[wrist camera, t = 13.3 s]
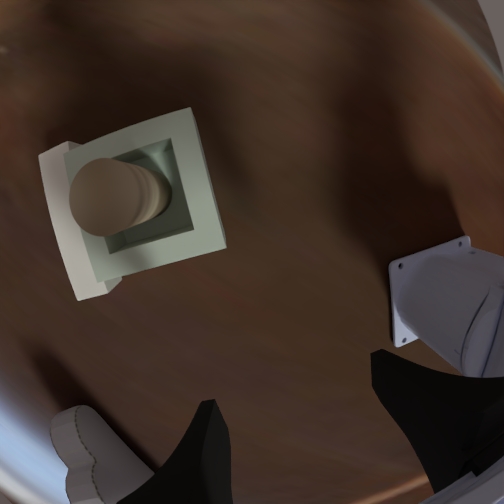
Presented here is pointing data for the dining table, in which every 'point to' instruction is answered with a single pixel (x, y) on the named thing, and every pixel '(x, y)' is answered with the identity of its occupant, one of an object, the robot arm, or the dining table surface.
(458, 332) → the robot arm
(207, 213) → the socket block
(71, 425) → the decorative item
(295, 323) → the dining table surface
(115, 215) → the dowel
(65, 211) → the backstop wall
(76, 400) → the dining table surface
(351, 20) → the dining table surface
